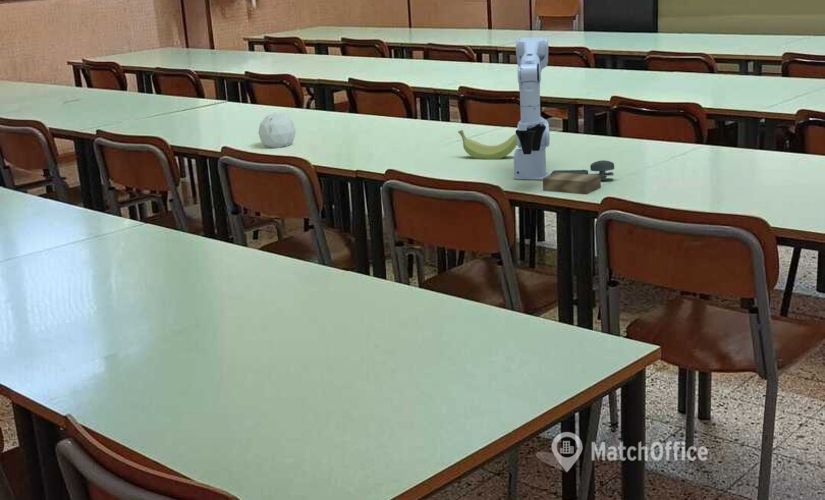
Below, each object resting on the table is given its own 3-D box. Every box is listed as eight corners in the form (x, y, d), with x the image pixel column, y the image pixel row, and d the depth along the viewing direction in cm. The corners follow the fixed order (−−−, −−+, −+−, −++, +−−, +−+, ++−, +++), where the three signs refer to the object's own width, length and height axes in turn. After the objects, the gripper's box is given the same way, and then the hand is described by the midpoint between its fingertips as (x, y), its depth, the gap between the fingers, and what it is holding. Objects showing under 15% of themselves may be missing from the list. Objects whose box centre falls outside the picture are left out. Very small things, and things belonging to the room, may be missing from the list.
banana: (502, 173, 355) (449, 146, 359) (506, 169, 360) (454, 143, 364) (518, 137, 350) (465, 110, 353) (522, 134, 355) (470, 108, 358)
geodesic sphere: (294, 153, 396) (291, 114, 392) (256, 155, 396) (252, 117, 393) (299, 146, 410) (296, 109, 407) (263, 148, 411) (259, 111, 407)
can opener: (615, 178, 319) (615, 158, 318) (614, 182, 315) (613, 161, 313) (552, 179, 324) (551, 158, 322) (549, 183, 319) (549, 162, 318)
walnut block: (543, 191, 309) (542, 178, 308) (557, 185, 316) (557, 172, 315) (586, 195, 301) (586, 181, 300) (600, 188, 308) (600, 175, 307)
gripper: (535, 108, 301) (536, 156, 304) (551, 103, 313) (552, 149, 316) (511, 108, 304) (513, 155, 307) (528, 103, 316) (529, 148, 319)
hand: (531, 152), depth 312 cm, fingers open, 7 cm apart
